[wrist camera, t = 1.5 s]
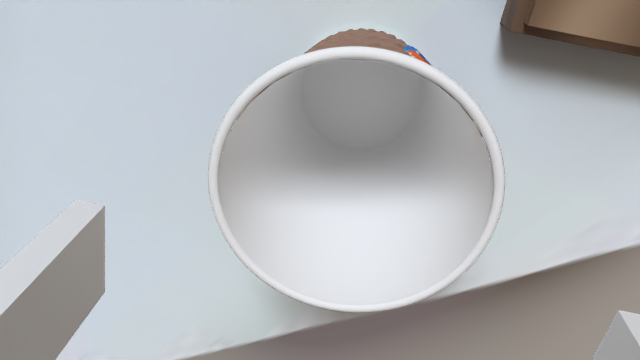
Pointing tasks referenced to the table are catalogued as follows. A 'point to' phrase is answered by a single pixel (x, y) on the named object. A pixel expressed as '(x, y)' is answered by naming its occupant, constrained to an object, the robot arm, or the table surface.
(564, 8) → the stand
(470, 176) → the coffee cup
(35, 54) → the table surface
